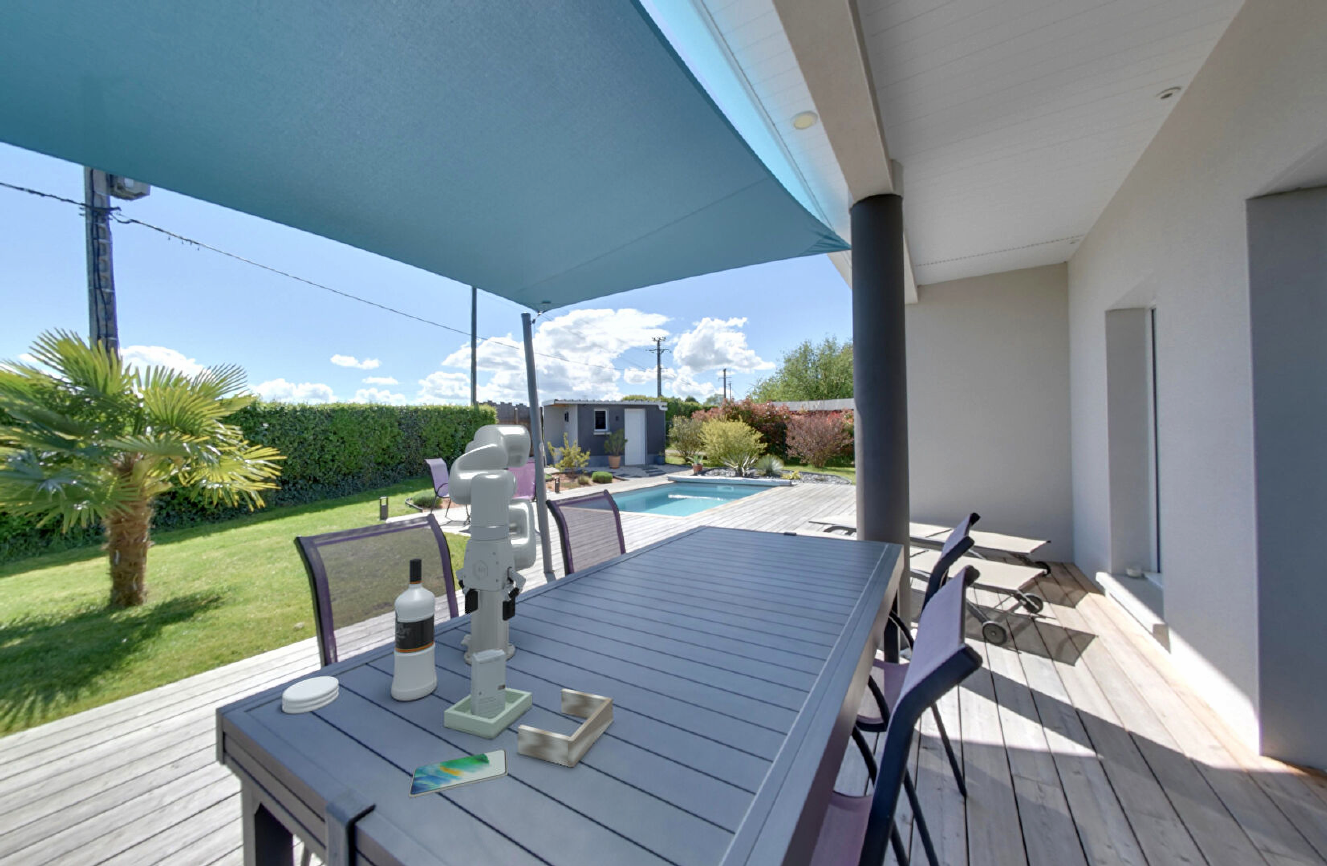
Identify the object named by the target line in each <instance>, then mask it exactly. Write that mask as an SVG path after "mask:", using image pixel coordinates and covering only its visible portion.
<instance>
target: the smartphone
mask: <svg viewBox="0 0 1327 866" xmlns="http://www.w3.org/2000/svg"><path fill="white" fill-rule="evenodd" d="M507 754H508V753H507V750H506V749H503V748H502V749H498V750H492V751H488V752H483V753H477V754H473V755H470V756H463V757H459V758H455V759H451V760H450V759H448V760H445V761H440V762H435V763H432V764H426V765H420V766H418V767H416V768H415V769H414V771H413V776H412V779H411V784H410V788H409V793H408V797H409V798H410V799H414V798H419V797H423V796H427V794H428V795H432V794H436V792H437V793H440V792H445V791H448V790H449V791H450V790H453V789H458V787H459V788H463V787H464V786H463V785H467V786H469V785H468V784H472V785H475V783H476V784H480V782H481V783H485V782H488V781H492V780H499V779H502V778H505V777H507V776H508V757H507V756H508V755H507ZM484 781H485V782H484ZM462 786H463V787H462ZM431 793H432V794H431ZM418 796H419V797H418Z"/></svg>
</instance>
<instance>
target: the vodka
mask: <svg viewBox="0 0 1327 866" xmlns="http://www.w3.org/2000/svg"><path fill="white" fill-rule="evenodd" d="M408 563H409V564H408V567H409V571H408V572H409V578H408V579H409V581H408V582H409V583H408V589H407V590H405V591H404V592H402V593H400V595H399V596H397V598H396V599H395V601H394V604H393V606H394V615H395V616H394V651H393V655H394V669H393V670H394V671H393V680H392V683H391V691H390V692H391V693H390V694H391V696H392V698H393V699H395V700H398V701H401V702H410V701H411V702H412V701H415V700H419V699H422V698H424V697H426V696H428V695H430V694H431V693H432V692H434V690H436V688H437V686H438V675H437V672H436V662H435V652H436V651H435V648H436V643H435V613H436V600H437V599H436V597H435V594H434V593H433V592H432V591H430V590H429V589H427V588H425V587H423V586H422V585H423V584H422V582H423V581H422V580H423V576H422V575H423V573H422V572H423V571H422V568H423V566H422V565H423V559H422V558H418V557H417V558H411V559H409V562H408Z"/></svg>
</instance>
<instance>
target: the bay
mask: <svg viewBox="0 0 1327 866" xmlns="http://www.w3.org/2000/svg"><path fill="white" fill-rule="evenodd" d="M560 693H561V694H560V695H561V699H560V701H561V702H560V704H561V705H560V708H561V712H560V713H563V714H567V715H571V716H574V715H575V716H576V717H578V718H583V719H584V718H585V719H586V720H585V721H584V723H583V724H581V726H579V728H577V730H576V731H575V732H574V733H573V734H572V735H571V736H568V735H566V734H561V733H557V732H554V731H553V732H552V731H549V730H546V729H541V728H538V727H532V726H528V725H524V724H521V725H519V726H518V727H517V753H518V754H521V755H524V756H528V757H531V758H535V759H540V760H542V759H543V760H542V761H546V762H549V761H550V763H553V762H554V764H557V763H559V764H558V765H560V764H562V765H561V766H564V765H565V766H564V767H567V766H568V767H569V768H571V767H573V768H575V766H577V764H578V762H580V760H581V759H582V758H583V757H584V755H585V754H586V753H587V752H588V750H590V749H591V747H592V746H593V745H594V744H595V743H596V741H597V740H598V739H599V738H600V737H601V735H603V733H604V732H605V731H606V730H607V729H608V727H609V726H610V725H611V723H613V722H614V716H613V715H614V711H613V709H614V707H613V706H614V704H613V703H614V702H613V701H614V700H613V699H614V698H613V697H607V696H602V695H597V694H592V693H588V692H583V691H579V690H578V691H577V690H572V689H569V688H562V689H561V690H560ZM593 743H594V744H593Z"/></svg>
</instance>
